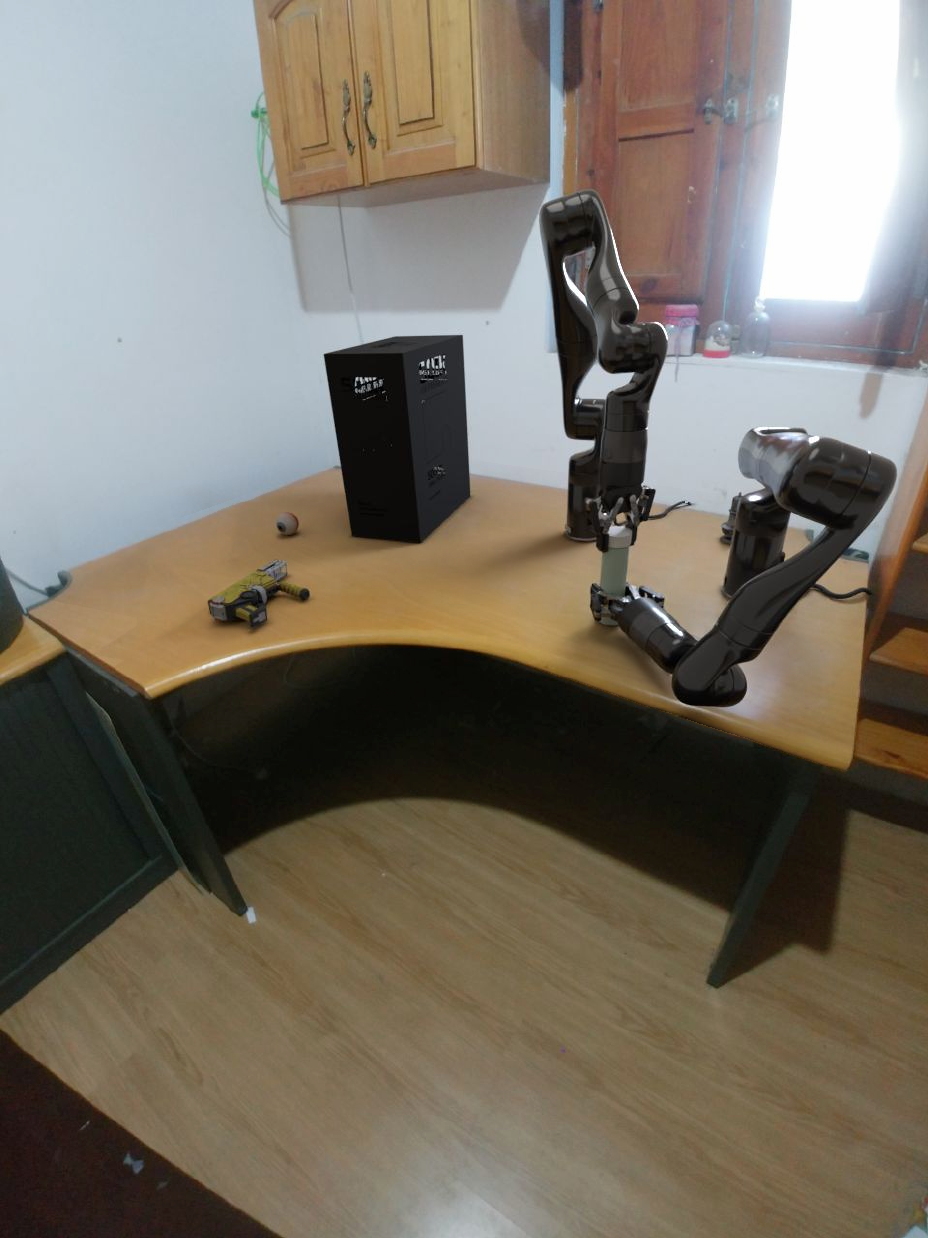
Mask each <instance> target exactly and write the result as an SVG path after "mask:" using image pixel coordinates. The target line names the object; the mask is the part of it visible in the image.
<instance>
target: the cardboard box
mask: <svg viewBox="0 0 928 1238" xmlns="http://www.w3.org/2000/svg"><path fill="white" fill-rule="evenodd" d="M464 350H465V349H464V335H463V334H440V335H439V334H438V335H437V334H436V335H435V334H434V335H433V334H432V335H402V336H401V335H397V336H395V335H394V336H391V337H387V338H383V339H378V340H374V341H371V342H367V343H362V344H359V345H354V346H349V347H346V348H341V349H337V350H334V351H329V352H326V353H323V359H324V367H325V373H326V380H327V385H328V392H329V398H330V399H329V400H330V406H331V412H332V418H333V425H334V430H335V437H336V444H337V451H338V456H339V463H340V469H341V476H342V483H343V489H344V495H345V501H346V503H345V504H346V509H347V514H348V520H349V527H350V528H349V529H350V533H351V535H350V536H351V537H359V538H367V539H376V540H377V539H378V540H388V541H397V542H406V543H407V542H408V543H417V544H421V543H422V542H423V541H425V540H426V538H428V537H429V536H430V535H431V534H432V533H433V532H434V531H435V530H436V529H438V527H439V526H441V524H443V522H445V521H446V520H447V519H448V518H449V517H450V516H452V514H453V513H454V512H455V511H457V509H458V508H459V507H461V506H462V505H463V504H464V503H465V502H466V501H467V500H468V499H469V498H470V497H471V478H470V459H469V458H470V457H469V435H468V415H467V413H468V412H467V394H466V392H467V391H466V374H465V373H466V372H465V371H466V370H465V354H464V353H465V352H464ZM422 363H423V365H422ZM440 364H441V365H440ZM440 366H441V367H440ZM366 378H367V380H366ZM370 379H371V380H370ZM361 380H362V381H361Z"/></svg>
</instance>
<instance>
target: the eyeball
mask: <svg viewBox="0 0 928 1238" xmlns="http://www.w3.org/2000/svg"><path fill="white" fill-rule="evenodd" d="M299 525H300V522H299V519H298V517H297V516H296V515H295V514H294V513H292V512H287V511H286V512H282V513H280V514H279V515H278V516H277V517H276V520H275V527H276V529H277V530H278V531H279V532H280V533H281V534H282V535H285V536H286V535H287V536H289V535H293V534H295V533H296V532H297V531H298V529H299Z"/></svg>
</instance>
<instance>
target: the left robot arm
mask: <svg viewBox="0 0 928 1238" xmlns="http://www.w3.org/2000/svg"><path fill="white" fill-rule="evenodd" d="M606 210H607V209H606V207H605V204H604V202H603V200H602V198H601V196H600V194H599V193H598V191H596V190H595V189H593V188H585V189H581V190H577V191H575V192H572V193H569V194H566V195H563V196H560V197H556V198H554V199H551V200H549V201H547V202H545V203H543V204H542V205H541V207H540V210H539V216H538V223H539V225H538V227H539V234H540V240H541V246H542V252H543V257H544V262H545V269H546V274H547V280H548V285H549V291H550V299H551V309H552V319H553V330H554V332H553V333H554V341H555V349H556V355H557V362H558V368H559V375H560V376H559V377H560V384H561V386H560V387H561V403H562V404H561V405H562V406H561V407H562V424H563V425H562V426H563V429H564V430H563V431H564V434H565V436H566V437H567V438H568V439H570V440H574V441H588V442H589V441H592V442H593V446H592V447H590V448H588V449H585V450H582V451H580V452H576V453H574V454H572V455H571V456H570V457H569V459H568V468H567V469H568V473H567V501H566V502H567V503H566V523H565V524H564V530H565V536H566V537H567V538H568V539H570V540H572V541H576V542H583V543H584V542H586V543H587V542H594V541H595V548H596V549H597V550H598V552H600V553H601V554H602V553H606V552H608V543H609V533H608V531H609V529H610V526H612V523H613V524H614V526H622V525H624V527H626V528H629V529H630V530H632V540H631V545H630V546H629V547H634V546H635V543H636V541H637V540H638V539H637V537H638V529H639V528H638V527H639V526H640V524H641V523H643V522H647V521H648V520H649V519H657V518H662V517H664V516H665V515H667V514H668V512H670V510H673V509H675V508H676V507H678V506H680V505H683V504H687V505H688V506H692V502H690V501H689V502H688V503H685V501H686V500H682V501H679V502H676V503H674V504H673V505H670V506H668V507H667V508H666V509H665V510H664V511H663V512H661V513H658V514H652V515H650V514H651V510H652V508H653V503H654V499H655V496H656V493H657V492H656V491H657V490H656V488H653V487H651V486H648V485H646V484H645V485H642V484H643V483H644V480H645V474H646V473H645V472H646V465H647V452H648V443H649V436H648V429H649V419H650V409H651V408H650V405H651V402H652V398H653V395H654V392H655V389H656V385H657V383H658V380H659V377H660V374H661V372H662V369H663V367H664V364H665V361H666V359H667V356H668V350H669V340H668V335H667V331H666V329H665V328H664V326H663V325H662V324H661V323H659V322H657V321H643V322H642V321H641V322H636V321H637V320H638V317H639V311H640V310H639V309H640V307H639V303H638V300H637V298H636V296H635V294H634V292H633V290H632V288H631V286H630V283H629V282H628V280H627V277H626V276H625V273H624V271H623V268H622V265H621V262H620V258H619V254H618V249H617V246H616V242H615V239H614V235H613V231H612V228H611V224H610V220H609V217H608V214H607V211H606ZM593 249H594V253H593V257H592V259H591V262H590V264H589V267H588V270H587V273H586V275H585V278H584V284H583V292H582V291H581V290H580V289H579V288H578V287H577V286H576V284H575V283H574V281H573V280H572V279H571V277H570V275H569V273H568V272H567V269H566V264H565V261H566V259H568V258H572V257H575V256H577V255H580V254H583V253H586V252H589V251H591V250H593ZM596 363H597V364H598V365H599V366H600V368H601V369H602V370H603V371H604V372H606V373H608V374H610V375H622V374H631V373H633V374H632V376H631V379H630V380H629V381H628V383H627V384H625V385H622V386H620V387H617V388H614V389H611V390H610V391H609V392H608V393H607V395H606V397H605V398H581V396H580V393H579V391H580V388H581V386H582V384H583V383H584V381H585V379H586V378H587V376H588V374H589V373H590V372H591V370H592V368H593V367H594V366H595V364H596ZM622 513H623V515H624V518H625V520H624V521H622V522H618V520H617V516H619V515H620V514H622Z"/></svg>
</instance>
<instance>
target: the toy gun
mask: <svg viewBox="0 0 928 1238" xmlns="http://www.w3.org/2000/svg"><path fill="white" fill-rule="evenodd" d="M283 568H285V571H282V569H283ZM288 573H289V572H288V563H287V561H286V560H280V559H278V558H276V559H274V560H272V561H271V562H269V563H268V564H266V565H264V566H263V567H262V568H258V569H256V570H254V571H253V572H251V573H250V574H248V575H246V576H245V577H243V578H241V579H240V580H238V581H237V582H235V583H233V584H232V585H230V586H228V587H227V588H224V590H222V591H220V592H218V593H217V594H215V595H213V596H212V597H210V598H209V599H207V605H208V613H209V615H210V616H211V618H213V619H214V621H215V622H217V621H218V622H219V623H222V622H223V621H225V622H231V621H236V620H244V621H246V622H248V623H249V626H250V628H251V629H254V628H257V627H258V626H260V625H262V624H264V623H265V622H267V621H268V620H269V619H268V611H267V607H266V606H265V604H266V603H267V601H268V598H269V597H271V596H274V595H275V594H278V593H279V592H282V593H285V594H288V595H290V596H294V597H295V598H299V599H300V600H302V601H305V600H307V599H309V598H310V596H311V595H310V594H311V593H310V589H308V588H306V587H301V586H300V585H298V586H297V585H296V584H293V583H291V582H288V581H286V580H285V581H282V582H281V583H280V584H278V581H279V580H281V579H282V578H283V577H286V576H288Z"/></svg>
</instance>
